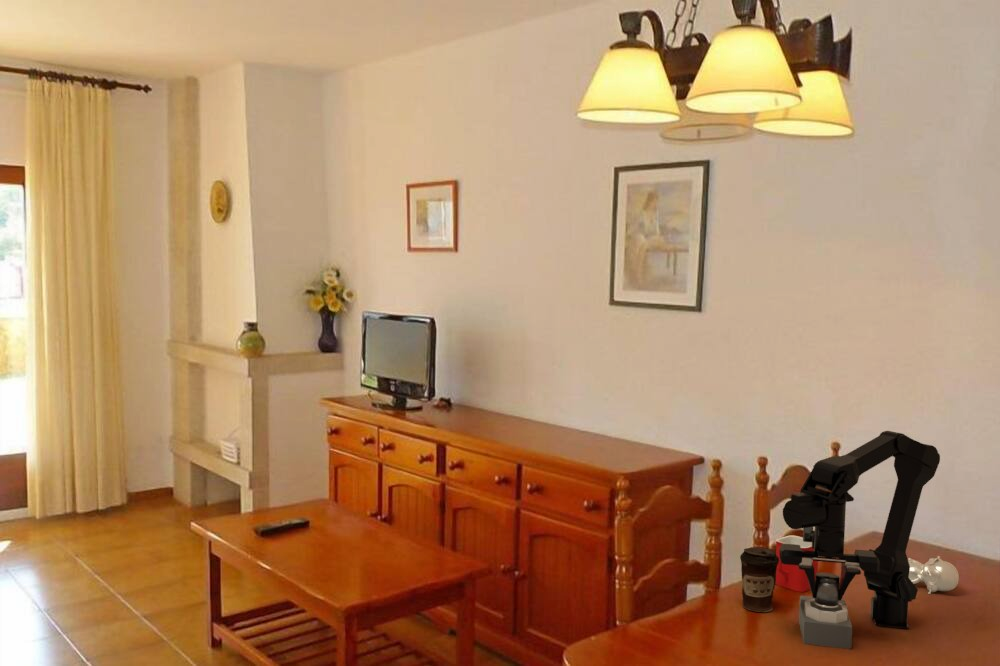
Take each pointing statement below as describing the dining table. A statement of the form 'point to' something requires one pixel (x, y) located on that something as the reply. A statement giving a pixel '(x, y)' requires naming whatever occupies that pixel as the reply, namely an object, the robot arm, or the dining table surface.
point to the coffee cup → (758, 578)
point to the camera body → (824, 624)
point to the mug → (793, 566)
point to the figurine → (934, 574)
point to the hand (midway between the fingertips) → (826, 598)
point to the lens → (827, 590)
